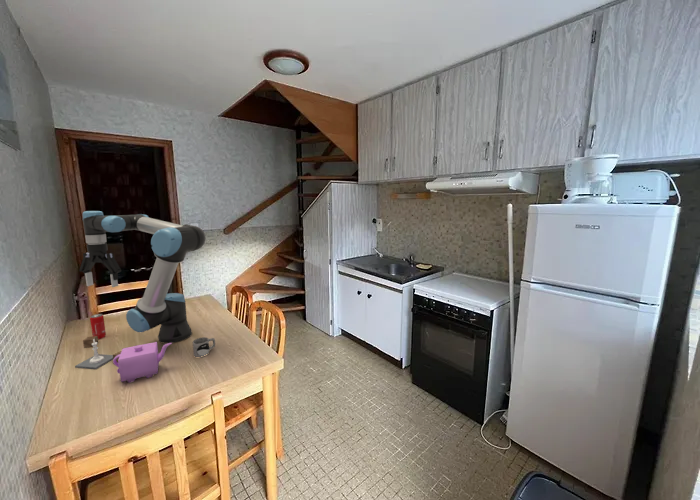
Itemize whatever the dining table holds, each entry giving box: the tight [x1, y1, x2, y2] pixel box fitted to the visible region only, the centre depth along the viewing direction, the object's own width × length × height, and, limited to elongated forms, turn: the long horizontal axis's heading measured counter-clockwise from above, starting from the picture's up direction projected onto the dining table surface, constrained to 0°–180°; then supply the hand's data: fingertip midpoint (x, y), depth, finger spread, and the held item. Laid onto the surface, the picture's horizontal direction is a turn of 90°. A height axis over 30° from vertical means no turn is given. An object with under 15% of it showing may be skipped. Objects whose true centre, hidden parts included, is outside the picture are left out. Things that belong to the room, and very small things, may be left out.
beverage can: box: [89, 313, 107, 340], centre depth 151 cm, size 5×5×12 cm
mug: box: [192, 337, 216, 358], centre depth 137 cm, size 10×7×7 cm
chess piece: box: [90, 339, 104, 363], centre depth 128 cm, size 5×5×10 cm
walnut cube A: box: [82, 335, 99, 349], centre depth 143 cm, size 4×4×4 cm
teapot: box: [112, 341, 173, 384], centre depth 120 cm, size 20×10×12 cm, turn 120°
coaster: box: [74, 353, 113, 370], centre depth 129 cm, size 10×10×1 cm
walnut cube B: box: [112, 350, 122, 363], centre depth 129 cm, size 4×4×4 cm
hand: (102, 286), depth 144 cm, fingers open, 13 cm apart
